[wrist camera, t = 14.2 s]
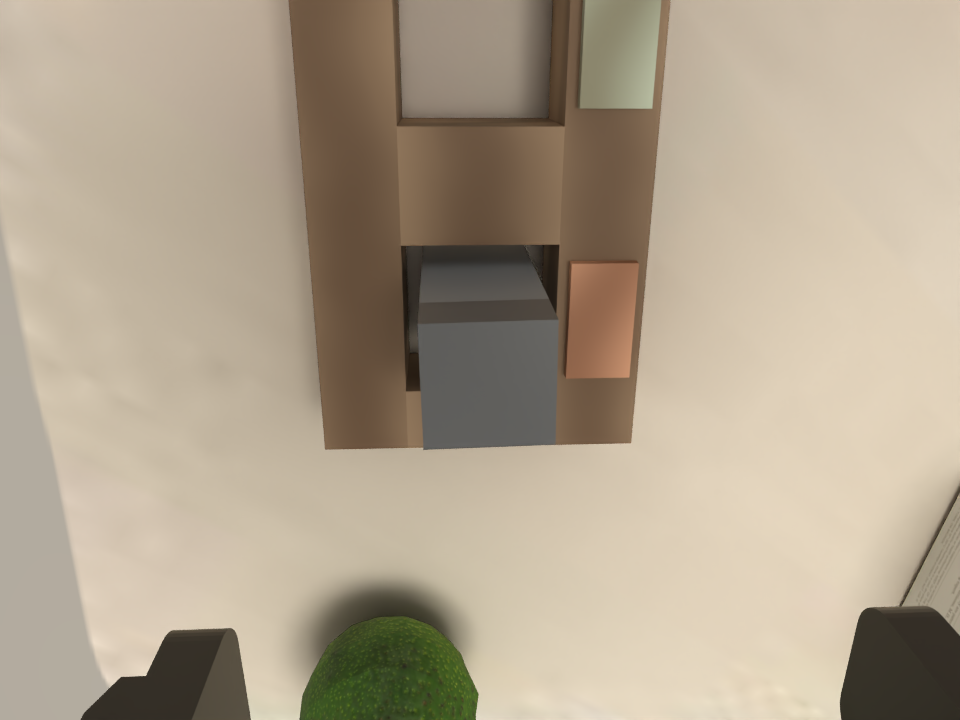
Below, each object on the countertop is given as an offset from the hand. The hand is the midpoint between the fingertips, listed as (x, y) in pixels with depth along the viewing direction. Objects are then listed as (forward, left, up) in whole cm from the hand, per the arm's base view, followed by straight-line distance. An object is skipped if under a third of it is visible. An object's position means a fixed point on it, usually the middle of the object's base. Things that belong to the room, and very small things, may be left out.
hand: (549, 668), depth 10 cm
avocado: (+4, +20, -23) cm, 30 cm away
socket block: (0, -3, -23) cm, 23 cm away
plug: (0, +2, -23) cm, 23 cm away
